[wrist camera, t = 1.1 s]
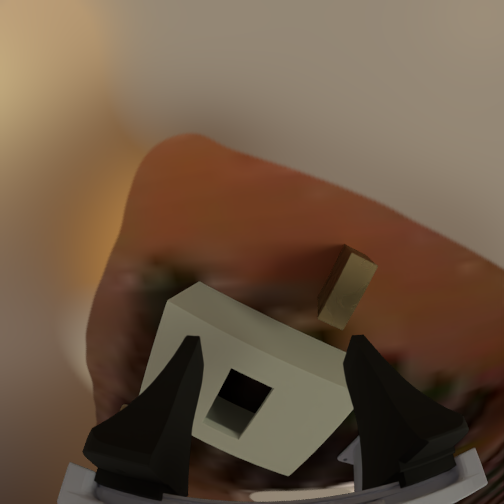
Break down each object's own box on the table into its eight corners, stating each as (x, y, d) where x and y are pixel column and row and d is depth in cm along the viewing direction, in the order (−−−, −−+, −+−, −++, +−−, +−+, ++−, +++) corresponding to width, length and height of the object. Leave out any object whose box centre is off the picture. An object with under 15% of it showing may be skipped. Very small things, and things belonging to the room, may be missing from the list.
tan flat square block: (365, 254, 22) (377, 265, 17) (338, 306, 23) (342, 330, 18) (344, 243, 22) (351, 252, 18) (317, 297, 23) (317, 318, 19)
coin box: (356, 357, 23) (364, 394, 17) (295, 437, 26) (288, 476, 20) (199, 281, 26) (167, 300, 20) (165, 373, 28) (137, 402, 22)
